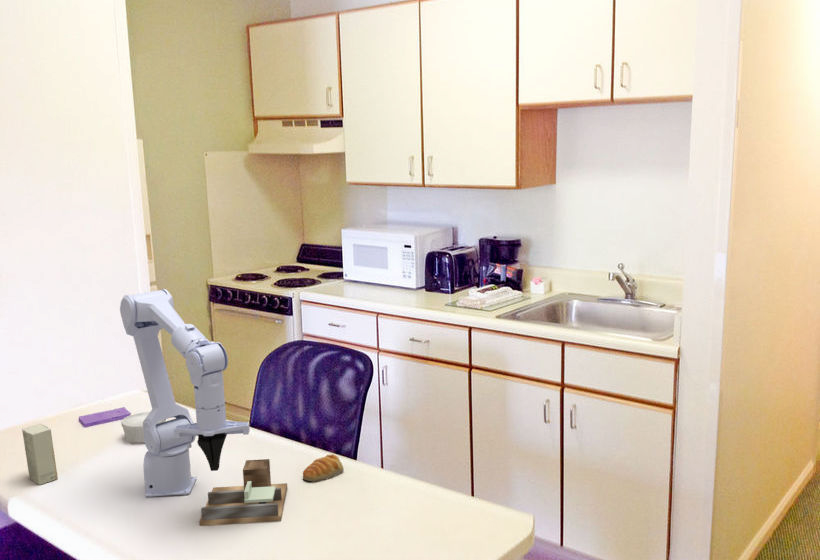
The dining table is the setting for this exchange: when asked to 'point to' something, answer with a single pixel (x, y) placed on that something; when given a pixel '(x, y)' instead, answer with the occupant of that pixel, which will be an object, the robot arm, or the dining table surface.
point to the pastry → (323, 468)
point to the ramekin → (135, 427)
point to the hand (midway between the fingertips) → (215, 468)
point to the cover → (258, 493)
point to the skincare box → (40, 454)
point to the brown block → (257, 473)
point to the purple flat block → (104, 417)
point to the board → (241, 507)
